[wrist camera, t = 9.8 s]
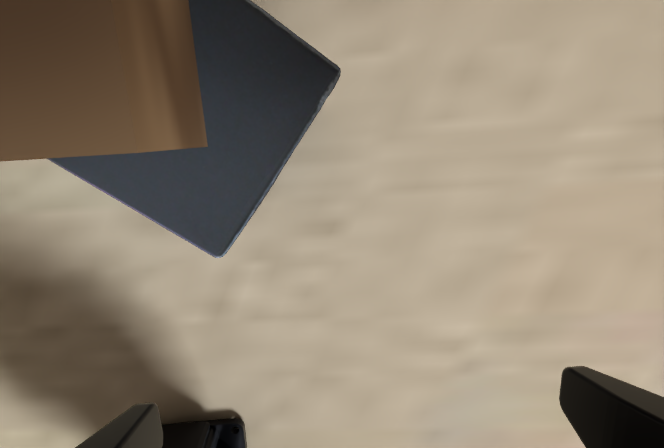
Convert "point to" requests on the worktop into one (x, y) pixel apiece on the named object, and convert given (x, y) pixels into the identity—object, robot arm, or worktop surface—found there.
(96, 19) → the walnut block
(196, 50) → the small box
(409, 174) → the worktop surface
